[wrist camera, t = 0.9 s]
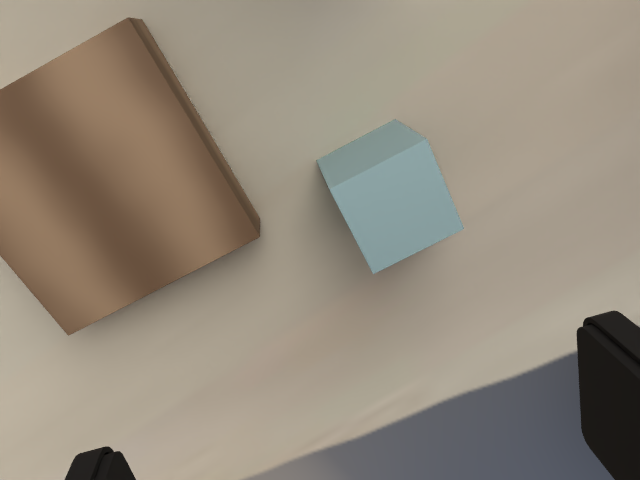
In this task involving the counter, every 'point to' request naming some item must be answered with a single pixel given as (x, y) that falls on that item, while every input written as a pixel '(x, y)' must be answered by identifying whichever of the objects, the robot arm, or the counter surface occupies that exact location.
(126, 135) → the base
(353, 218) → the block
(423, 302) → the counter surface
